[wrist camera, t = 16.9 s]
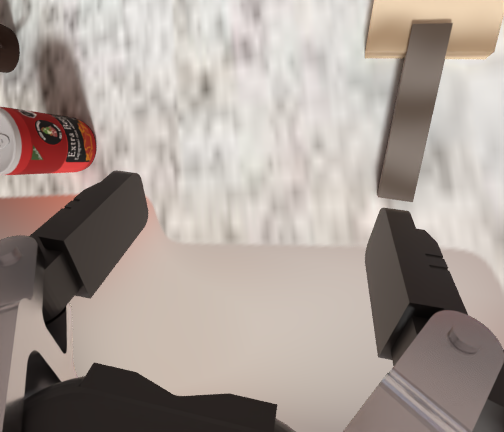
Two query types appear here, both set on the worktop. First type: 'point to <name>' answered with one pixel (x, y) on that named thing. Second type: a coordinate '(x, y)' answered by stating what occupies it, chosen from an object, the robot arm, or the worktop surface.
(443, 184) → the worktop surface
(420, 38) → the wooden board
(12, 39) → the coffee mug
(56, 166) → the canned food
